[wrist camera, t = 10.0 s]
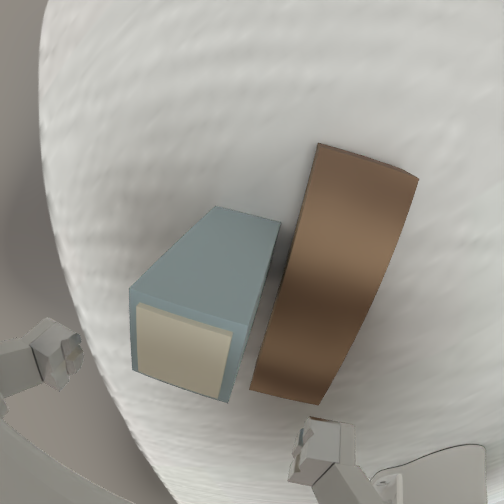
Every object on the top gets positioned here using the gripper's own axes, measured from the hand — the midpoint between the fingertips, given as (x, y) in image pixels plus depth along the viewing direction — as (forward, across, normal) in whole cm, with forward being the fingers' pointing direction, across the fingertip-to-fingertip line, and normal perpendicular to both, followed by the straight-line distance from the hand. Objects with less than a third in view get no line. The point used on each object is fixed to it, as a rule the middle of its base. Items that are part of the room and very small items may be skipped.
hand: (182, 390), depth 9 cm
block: (+11, +1, -1) cm, 11 cm away
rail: (+11, -4, 0) cm, 12 cm away
